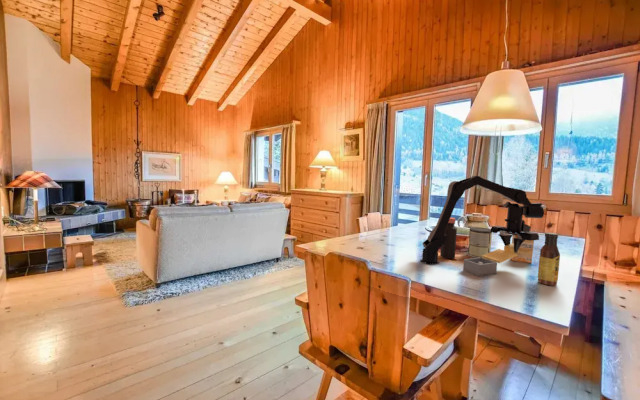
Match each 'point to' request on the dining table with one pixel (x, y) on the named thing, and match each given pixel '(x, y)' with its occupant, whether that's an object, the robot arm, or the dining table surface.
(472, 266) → the tub
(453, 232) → the vinegar
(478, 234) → the coffee can
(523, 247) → the supplement box
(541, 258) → the sauce bottle
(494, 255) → the lid
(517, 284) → the dining table surface
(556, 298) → the dining table surface
